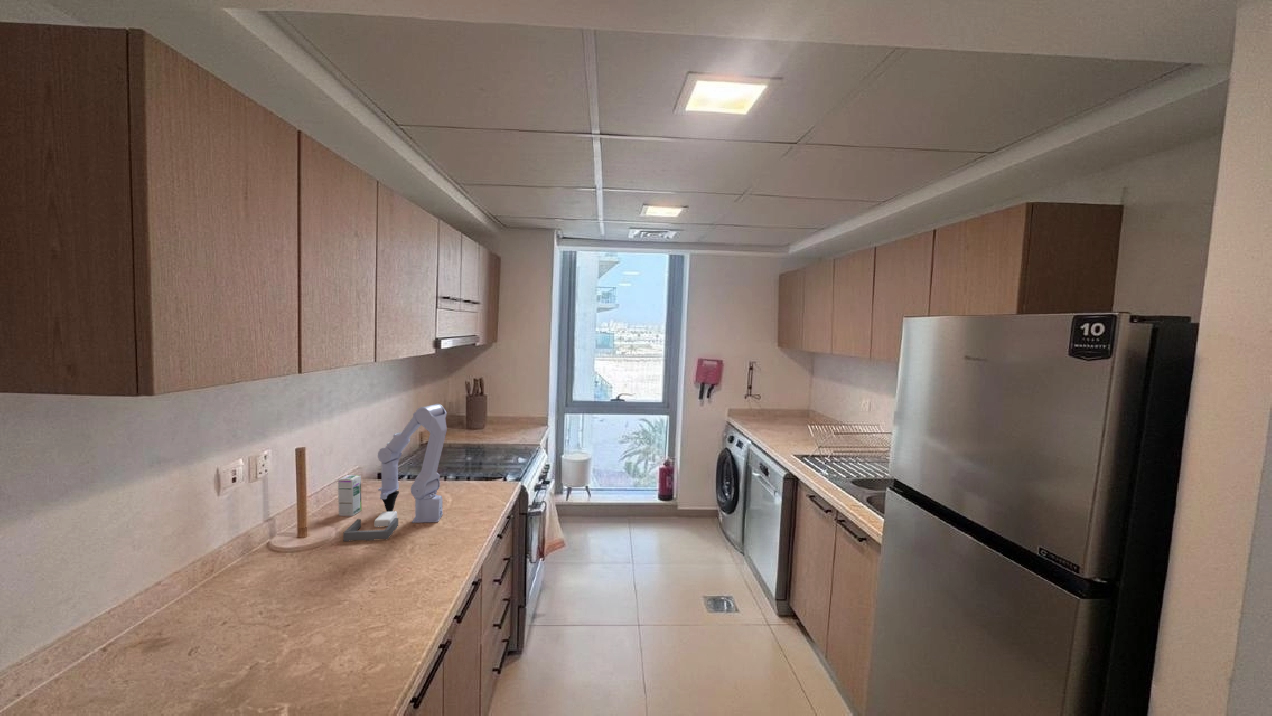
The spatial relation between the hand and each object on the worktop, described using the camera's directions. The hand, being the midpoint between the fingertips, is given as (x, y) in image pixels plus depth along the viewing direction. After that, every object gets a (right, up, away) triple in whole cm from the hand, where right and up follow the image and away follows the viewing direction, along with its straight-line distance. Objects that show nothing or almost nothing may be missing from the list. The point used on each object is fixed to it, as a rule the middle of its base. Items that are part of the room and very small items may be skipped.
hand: (389, 511), depth 190 cm
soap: (+3, -2, -8) cm, 9 cm away
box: (+3, -2, -17) cm, 18 cm away
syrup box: (-15, -1, -1) cm, 15 cm away
